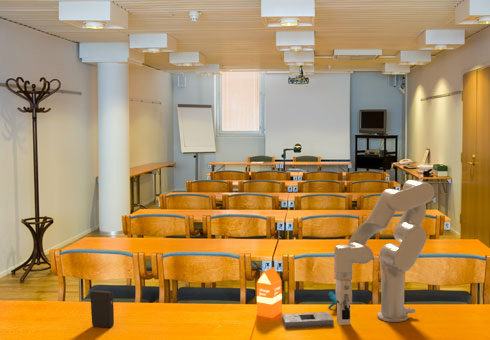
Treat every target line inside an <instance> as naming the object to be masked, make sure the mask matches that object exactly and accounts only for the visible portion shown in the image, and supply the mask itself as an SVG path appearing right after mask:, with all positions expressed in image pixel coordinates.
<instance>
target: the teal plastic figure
mask: <svg viewBox="0 0 490 340" xmlns="http://www.w3.org/2000/svg"><path fill="white" fill-rule="evenodd" d="M327 294H328V297H329V299H330V300H331V301H332V303H331V304H330V305H328V309H329V310H330V309H331V308H332V307H333V306H336V293H334V292H333V291H329V292H328V293H327Z"/></svg>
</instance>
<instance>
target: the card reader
mask: <svg viewBox="0 0 490 340" xmlns="http://www.w3.org/2000/svg"><path fill="white" fill-rule="evenodd" d="M114 310H115V309H114V293H113V291H111V290H110V291H109V290H99V289H95V290H94V289H93V290H91V291H90V314H91V325H92V326H93V327H96V326H97V327H99V328H105V327H108V328H112V327H114V325H115V323H114V322H115V321H114V320H115V316H114V314H115V313H114Z"/></svg>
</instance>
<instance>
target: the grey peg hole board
mask: <svg viewBox="0 0 490 340" xmlns="http://www.w3.org/2000/svg"><path fill="white" fill-rule="evenodd" d="M281 321H282V323H283V325H284V328H285V329H297V328H298V329H299V328H317V327H334V326H335V325H334V322H335V321H334V319H333V317H332V315H331V314H330V313H329V312H328V311H323V312H319V311H318V312H305V313H304V312H302V313H301V312H299V313H284V314H283V313H282V314H281Z"/></svg>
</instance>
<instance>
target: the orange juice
mask: <svg viewBox="0 0 490 340" xmlns="http://www.w3.org/2000/svg"><path fill="white" fill-rule="evenodd" d="M282 285H283V284H282V279H281V277H280V275H279V273H278V272H277V271H276V268H275V267H274V266H273V267H270V268H268V269H266V270H264V271H263V272H262V274H261V275H260V277H259V278H258V280H257V282H256V315H257V316H259V315H260V317H265V318H270V319H273V318H275V317H276V316H278V315H279V314H281V313H283V304H282V303H283V301H282V299H283V293H282V292H283V291H282V290H283V289H282Z"/></svg>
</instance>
